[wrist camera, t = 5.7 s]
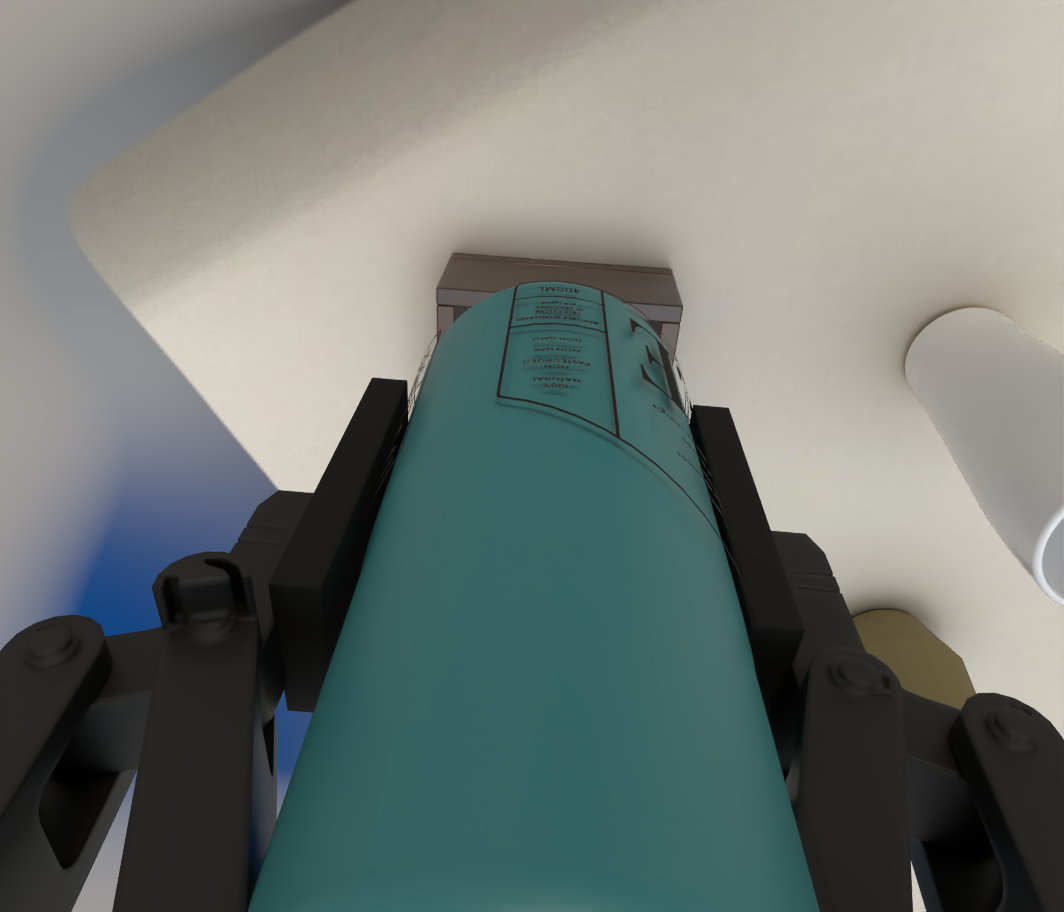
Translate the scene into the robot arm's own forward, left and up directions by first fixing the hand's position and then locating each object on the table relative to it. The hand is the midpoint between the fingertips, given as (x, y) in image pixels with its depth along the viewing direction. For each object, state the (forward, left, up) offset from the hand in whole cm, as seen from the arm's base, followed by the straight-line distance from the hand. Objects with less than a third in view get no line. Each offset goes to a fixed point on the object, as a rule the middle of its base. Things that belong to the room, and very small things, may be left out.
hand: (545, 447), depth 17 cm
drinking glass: (+6, +20, -22) cm, 30 cm away
